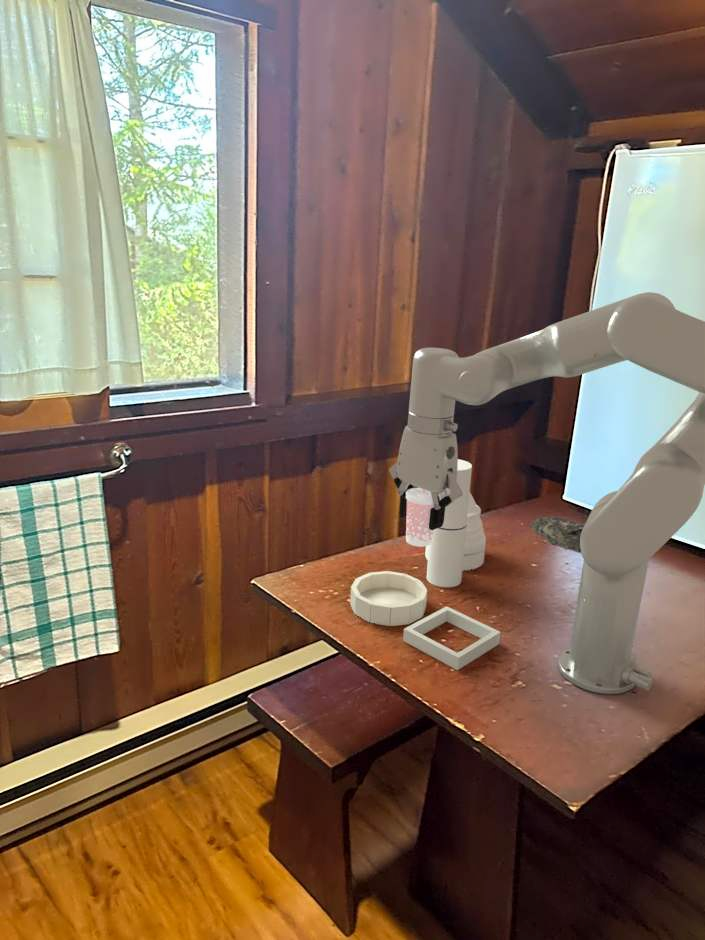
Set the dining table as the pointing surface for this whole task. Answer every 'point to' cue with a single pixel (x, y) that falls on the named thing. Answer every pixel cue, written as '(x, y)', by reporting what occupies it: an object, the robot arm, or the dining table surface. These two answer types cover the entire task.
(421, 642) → the open square frame
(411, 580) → the bowl
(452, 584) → the cylindrical container
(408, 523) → the beverage cup
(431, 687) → the dining table surface
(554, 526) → the geode
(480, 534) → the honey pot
